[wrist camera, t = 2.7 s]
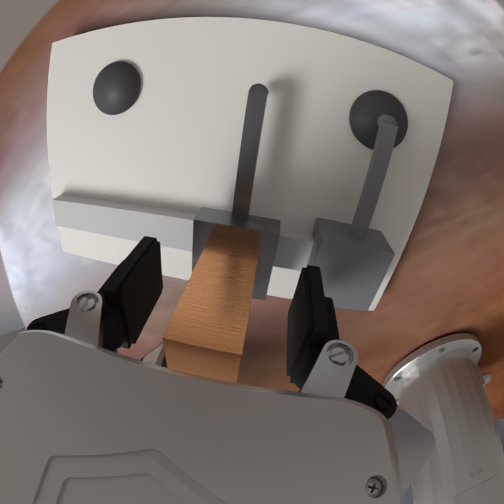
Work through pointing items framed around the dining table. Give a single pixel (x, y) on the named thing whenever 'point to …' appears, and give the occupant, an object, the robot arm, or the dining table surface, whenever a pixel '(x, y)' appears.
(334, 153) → the gauge board
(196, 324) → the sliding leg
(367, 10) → the dining table surface
